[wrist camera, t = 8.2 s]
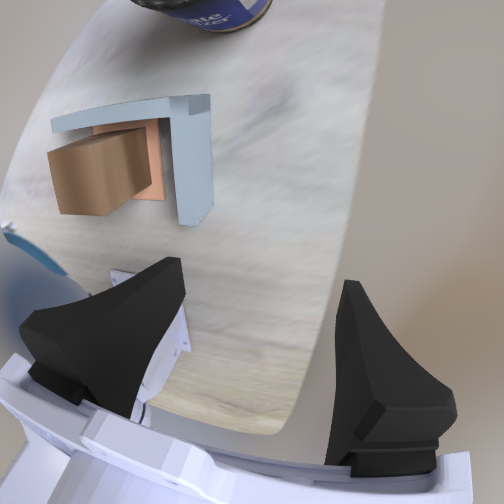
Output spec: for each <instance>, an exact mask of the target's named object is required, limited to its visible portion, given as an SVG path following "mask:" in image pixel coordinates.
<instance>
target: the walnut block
mask: <svg viewBox="0 0 504 504" xmlns="http://www.w3.org/2000/svg"><path fill="white" fill-rule="evenodd" d="M47 155H48V160H49V166H50V171H51V176H52V181H53V185H54V190H55V194H56V198H57V202H58V206H59V210H60V214H70V215H92V216H106V215H108V214H109V213H111V212H112V211H113V210H115V209H116V208H117V207H119V206H120V205H122V204H123V203H125V202H126V201H127V200H129V199H130V198H132V197H133V196H135V195H136V194H138V193H139V192H141V191H142V190H144V189H145V188H147V187H148V186H150V185H151V184H152V179H151V171H150V163H149V155H148V145H147V135H146V127H141V128H133V129H125V130H117V131H110V132H104V133H99V134H96V135H93V136H90V137H87V138H84V139H82V140H79V141H76V142H73V143H71V144H68V145H65V146H63V147H60V148H58V149H55V150H53V151H50V152H48V153H47Z"/></svg>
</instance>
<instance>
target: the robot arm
mask: <svg viewBox="0 0 504 504" xmlns="http://www.w3.org/2000/svg"><path fill="white" fill-rule="evenodd" d="M109 274H110V278H111V281H112V285H113V287H112V288H110V289H108V290H106V291H104V292H101V293H99V294H97V295H94V296H91V297H88V298H86V299H83V300H80V301H77V302H74V303H70V304H66V305H62V306H58V307H54V308H48V309H42V310H35V311H34V312H33V313H32V314H31V315H30V316H29V317H28V318H27V319H26V320H25V321H24V322H23V323H22V324H21V326H20V327H19V331H20V335H21V338H22V340H23V341H24V343H25V345H26V346H27V348H28V349H29V351H30V352H31V354H32V355H33V357H34V358H35V360H36V361H35V363H34V364H33V365H32V364H31V363H30V362H29V361H28V360H26V359H25V358H23V357H22V356H20V355H19V354H17V353H14V354H13V355H12V357H11V358H10V359H9V361H8V362H7V363H6V364H5V365H4V367H3V368H2V369H1V370H0V402H1V403H2V404H3V405H4V406H5V407H6V408H7V409H8V410H9V411H10V412H11V413H12V414H13V415H14V416H15V417H16V418H17V419H18V420H19V421H21V424H22V426H23V429H24V432H25V434H26V437H27V439H26V441H25V442H24V444H23V445H22V447H21V449H20V450H19V451H18V453H17V454H16V456H15V458H14V459H13V461H12V462H11V464H10V465H9V467H8V468H7V470H6V471H5V473H4V475H3V476H2V478H1V479H0V504H473V493H472V477H471V466H470V457H469V451H461V452H455V453H448V454H443V455H440V456H437V457H436V454H435V450H437V449H438V447H439V441H438V438H439V437H440V436H441V435H442V434H443V433H445V432H446V431H447V430H448V429H449V428H450V427H451V426H452V424H453V423H454V422H455V421H456V418H457V410H456V404H455V399H454V396H453V393H452V390H451V389H449V388H448V387H447V386H445V385H444V384H442V383H441V382H440V381H438V380H437V379H436V378H434V377H433V376H432V375H431V374H429V373H428V372H427V371H426V370H424V368H422V367H421V366H420V365H419V364H418V363H417V362H416V361H415V360H414V359H413V358H412V357H411V356H410V355H409V354H408V353H407V352H406V351H405V350H404V349H403V348H402V346H401V345H400V344H399V343H398V342H397V341H396V339H395V338H394V337H393V336H392V334H391V333H390V332H389V330H388V329H387V327H386V326H385V324H384V323H383V321H382V320H381V318H380V317H379V315H378V313H377V312H376V310H375V308H374V307H373V305H372V303H371V302H370V300H369V298H368V296H367V295H366V293H365V291H364V289H363V287H362V285H361V283H360V282H359V281H353V280H345V281H344V286H343V290H342V295H341V299H340V303H339V307H338V311H337V315H336V327H335V354H336V392H335V402H334V410H333V418H332V425H331V431H330V437H329V444H328V449H327V454H326V458H325V463H324V465H316V464H306V463H296V462H288V461H281V460H274V459H268V458H262V457H256V456H251V455H245V454H241V453H236V452H232V451H227V450H223V449H219V448H215V447H211V446H207V445H203V444H200V443H196V442H193V441H189V440H186V439H183V438H179V437H176V436H173V435H170V434H167V433H164V432H161V431H158V430H155V429H153V428H150V424H151V408H150V405H149V404H148V403H147V402H145V401H147V400H149V399H151V398H153V397H155V396H156V395H157V394H158V393H159V392H160V391H161V390H162V388H163V387H164V385H165V383H166V381H167V379H168V377H169V375H170V373H171V371H172V369H173V367H174V365H175V363H176V361H177V359H178V357H179V355H180V353H181V351H186V352H190V351H191V348H192V347H191V343H190V338H189V333H188V328H187V323H186V318H185V312H184V307H183V299H184V297H185V294H186V292H185V286H184V280H183V273H182V266H181V260H180V258H175V257H166V258H164V259H162V260H161V261H159V262H157V263H155V264H153V265H152V266H150V267H148V268H147V269H145V270H143V271H142V272H140V273H138V274H132V273H126V272H121V271H116V270H112V271H111V272H110V273H109Z"/></svg>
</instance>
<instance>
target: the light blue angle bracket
mask: <svg viewBox="0 0 504 504" xmlns="http://www.w3.org/2000/svg"><path fill="white" fill-rule="evenodd" d="M164 117H170V125H171V141H172V155H173V168H174V180H175V191H176V201H177V210H178V219H179V225H189V226H196V225H197V224H198V223H199V222H200V221H201V220H202V219H203V217H204V216H205V215H206V214H207V213H208V212H209V211H210V209H211V208H212V207H213V206H214V200H213V178H212V153H211V120H210V94H200V95H185V96H174V97H164V98H155V99H147V100H139V101H133V102H126V103H120V104H114V105H109V106H103V107H98V108H93V109H88V110H84V111H79V112H75V113H71V114H67V115H64V116H60V117H56V118H53V119H51V125H52V134H53V133H58V132H63V131H68V130H73V129H78V128H84V127H90V126H92V130H93V135H96V134H99V133H104V132H110V131H117V130H125V129H133V128H141V127H146V135H147V145H148V155H149V163H150V171H151V179H152V184H151V185H150V186H148V187H147V188H145V189H144V190H142V191H141V192H139V193H138V194H136V195H135V196H133V197H132V198H130V199H151V200H165V199H166V196H165V187H164V178H163V167H162V156H161V144H160V130H159V118H164Z"/></svg>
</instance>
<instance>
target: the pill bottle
mask: <svg viewBox="0 0 504 504" xmlns="http://www.w3.org/2000/svg"><path fill="white" fill-rule="evenodd" d="M131 1H132V2H134V3H135V4H138V5H140V6H142V7H145V8H148V9H152V10H155V11H157V12H160V13H163V14H166V15H168V16H171V17H174V18H176V19H179V20H181V21H184V22H186V23H189V24H191V25H194V26H196V27H198V28H200V29H203V30H206V31H210V32H215V33H228V32H234V31H237V30H239V29H241V28H243V27H248V26H250V25H252V24H254V23H255V22H257V21H258V20H259V19H261V17H262V16H264V15H265V13H266V12H267V11H268V9H269V7H270V5H271V3H272V0H131Z"/></svg>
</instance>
